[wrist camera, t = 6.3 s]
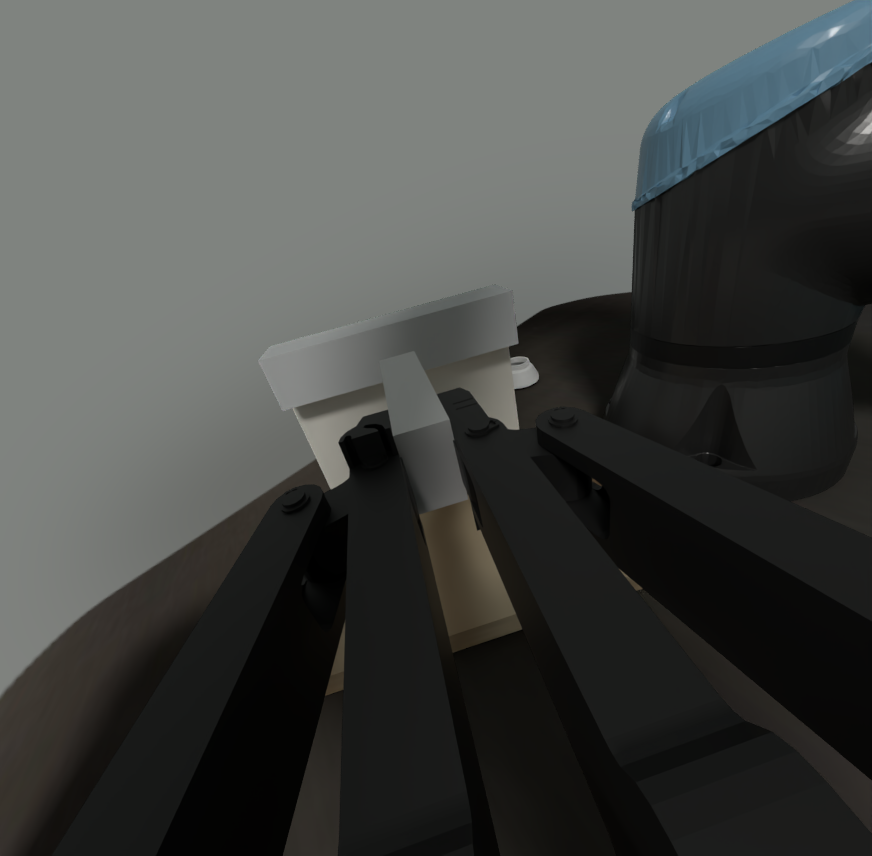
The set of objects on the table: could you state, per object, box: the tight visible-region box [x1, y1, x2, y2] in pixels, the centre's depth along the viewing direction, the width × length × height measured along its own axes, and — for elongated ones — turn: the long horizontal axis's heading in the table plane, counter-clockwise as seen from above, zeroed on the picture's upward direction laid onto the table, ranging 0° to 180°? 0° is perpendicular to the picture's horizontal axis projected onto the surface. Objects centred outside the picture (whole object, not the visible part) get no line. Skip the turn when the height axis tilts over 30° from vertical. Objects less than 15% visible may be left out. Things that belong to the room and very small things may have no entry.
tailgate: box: [258, 285, 519, 492], centre depth 24 cm, size 14×3×14 cm, turn 101°
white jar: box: [510, 357, 539, 389], centre depth 45 cm, size 5×3×5 cm
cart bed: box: [325, 478, 643, 696], centre depth 23 cm, size 22×12×4 cm, turn 101°
